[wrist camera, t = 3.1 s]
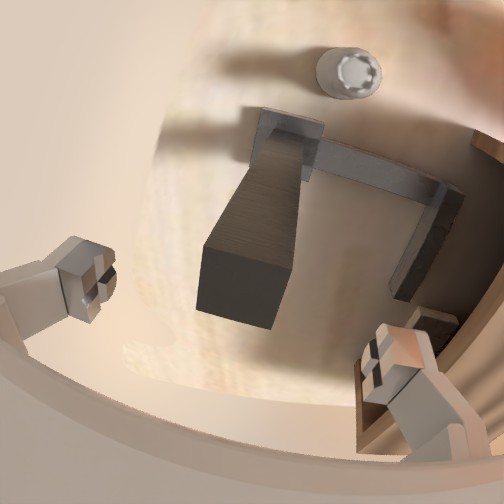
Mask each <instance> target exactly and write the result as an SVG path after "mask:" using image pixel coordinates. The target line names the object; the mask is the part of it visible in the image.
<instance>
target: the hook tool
mask: <svg viewBox="0 0 504 504" xmlns="http://www.w3.org/2000/svg"><path fill="white" fill-rule="evenodd" d="M323 129H324V122H322V121H318V120H315V119H311V118H307V117H304V116H300V115H296V114H292V113H288V112H284V111H280V110H275V109H271V108H267V107H264V108H262V109H261V114H260V118H259V123H258V128H257V132H256V137H255V142H254V146H253V151H252V156H251V161H250V165H249V167H250V168H249V170H248V171H247V173H246V175H245V176H244V178H243V180H242V181H241V183H240V185H239V186H238V188H237V189H236V191H235V193H234V195H233V196H232V198H231V200H230V201H229V203H228V205H227V206H226V208H225V210H224V211H223V213H222V215H221V217H220V218H219V220H218V222H217V223H216V225H215V227H214V229H213V230H212V232H211V234H210V235H209V237H208V239H207V241H206V242H205V244H204V246H203V253H202V261H201V269H200V277H199V286H198V295H197V304H196V310H198V311H202V312H205V313H209V314H212V315H216V316H219V317H223V318H227V319H230V320H234V321H238V322H241V323H245V324H249V325H253V326H257V327H261V328H265V329H269V330H271V328H272V326H273V323H274V320H275V317H276V314H277V312H278V309H279V306H280V303H281V300H282V297H283V295H284V292H285V289H286V286H287V283H288V280H289V277H290V274H291V271H292V266H293V257H294V248H295V238H296V228H297V218H298V207H299V196H300V184H301V180H302V181H306V182H309V178H310V175H311V171H312V168H315V169H319V170H322V171H326V172H329V173H333V174H336V175H339V176H343V177H346V178H349V179H352V180H356V181H359V182H362V183H365V184H368V185H371V186H374V187H377V188H380V189H383V190H386V191H389V192H392V193H395V194H398V195H400V196H403V197H406V198H409V199H412V200H414V201H417V202H420V203H422V204H425V205H427V206H426V208H425V210H424V213H423V215H422V217H421V219H420V222H419V224H418V226H417V228H416V230H415V232H414V234H413V237H412V239H411V241H410V243H409V245H408V247H407V249H406V251H405V253H404V255H403V257H402V259H401V261H400V263H399V265H398V267H397V269H396V271H395V272H394V274H393V276H392V278H391V280H390V282H389V285H390V289H391V292H392V296H393V298H394V299H398V300H402V301H406V302H410V301H411V299H412V297H413V296H414V294H415V292H416V291H417V289H418V287H419V286H420V284H421V282H422V281H423V279H424V277H425V275H426V274H427V272H428V270H429V268H430V266H431V265H432V263H433V261H434V259H435V257H436V255H437V254H438V252H439V250H440V248H441V246H442V244H443V242H444V240H445V238H446V236H447V234H448V232H449V230H450V228H451V226H452V224H453V222H454V220H455V218H456V216H457V213H458V211H459V209H460V207H461V205H462V202H463V200H464V198H465V195H464V194H463V193H462V192H461V191H460V190H459V189H458V188H457V187H456V186H455V185H453V184H451V183H449V182H446V181H444V180H442V179H439V178H437V177H435V176H432V175H430V174H427V173H425V172H422V171H420V170H417V169H415V168H412V167H410V166H407V165H405V164H402V163H399V162H397V161H394V160H391V159H388V158H386V157H383V156H380V155H377V154H374V153H371V152H368V151H365V150H362V149H359V148H356V147H353V146H350V145H347V144H344V143H340V142H337V141H334V140H330V139H327V138H324V137H321V136H322V132H323Z"/></svg>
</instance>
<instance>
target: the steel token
mask: <svg viewBox="0 0 504 504" xmlns="http://www.w3.org/2000/svg"><path fill="white" fill-rule="evenodd" d="M458 325H459V322H458V320H457V318H456V315H452V314H448V313H444V312H440V311H436V310H432V309H428V308H425V307H421V306H418V307H417V309H416V310H415V312H414V313H413V315H412V316H411V318H410V319H409V321H408V322H407V323H406V325H405V326H404V328H408V329H416V330H421V331H425V332H426V333H427V334H428V336H429V339H430V343H431V346H432V349H433V353H434V355H435V354H436V353H437V352H438V351H439V350H440V348H441V347H442V346H443V345H444V343H445V342H446V341H447V340H448V338H449V337H450V336H451V335H452V333H453V332H454V331H455V329H456V328H457V327H458Z"/></svg>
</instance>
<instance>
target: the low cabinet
mask: <svg viewBox="0 0 504 504" xmlns="http://www.w3.org/2000/svg"><path fill="white" fill-rule="evenodd" d="M471 145H473V146H475V147H477V148H478V149H480V150H482V151H483V152H485V153H487V154H488V155H490V156H492V157H493V158H495V159H497V160H498V161H500V162H501V163H503V164H504V143H502V142H500V141H498V140H496V139H494V138H492V137H490V136H488V135H486V134H484V133H482V132H480V131H478V130H476V129H475V132H474V135H473V138H472V141H471ZM435 360H436V363H437V367H438V371H439V372H443V373H444V375H445V376H446V377H447V378H448V379H449V380H450V382H451V383H452V384H453V385H454V386H455V387H456V389H457V390H458V391H459V392H460V393H461V395H462V396H463V397H464V398H465V399H466V401H467V402H468V403H469V404H470V405H471V407H472V408H473V409H474V410H475V411H476V413H477V414H478V415H479V416H480V418H481V419H482V420H483V421H484V423H485V427H486V431H487V436H488V440H489V443H491V442H492V441H493V440H495V439H496V438H497V437H498V436H500V435H501V434H503V433H504V264H503V266H502V267H501V269H500V271H499V272H498V274H497V276H496V277H495V279H494V281H493V282H492V284H491V285H490V287H489V288H488V290H487V291H486V293H485V294H484V296H483V297H482V299H481V300H480V302H479V303H478V305H477V306H476V308H475V309H474V311H473V312H472V313H471V315H470V316H469V318H468V319H467V320H466V322H465V323H464V324H463V326H462V327H461V328H460V330H459V331H458V332H457V334H456V335H455V336H454V337H453V339H452V340H451V341H450V342H449V344H448V345H447V346H446V347H445V349H444V350H443V351H442V352H441V354H440V355H439V356H438V357H437V358H436V359H435ZM361 361H362V360H361V359H359V360H358V361H357V362H356V364H355V365H354V372H355V393H356V427H357V429H356V431H357V432H356V438H357V446H356V447H357V449H356V452H357V453H358V454H375V455H409V454H411V453H412V450H411V448H410V446H409V444H408V443H407V441H406V439H405V437H404V435H403V434H402V432H401V430H400V428H399V426H398V425H397V423H396V421H395V419H394V417H393V416H392V414H391V412H390V410H389V409H388V407H387V406H388V405H385V404H378V403H372V402H366V401H363V387H362V383H363V381H364V380H365V379H366V377H365V375H364V374H363V373H362V371H361Z"/></svg>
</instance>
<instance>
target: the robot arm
mask: <svg viewBox="0 0 504 504" xmlns="http://www.w3.org/2000/svg"><path fill="white" fill-rule="evenodd" d="M114 262H115V251H114V250H112V249H111V248H109V247H105V246H103V245H100V244H97V243H94V242H91V241H89V240H85V239H82V238H79V237H77V236H71V237H69V238H68V239H67V240H66V241H65V242H64V243H62V244H61V245H60V246H59V247H58V248H57V249H56V250H54V251H53V252H52V253H51V254H50V255H49V256H47V257H46V258H45V259H44V260H43V261H42V262H41V261H34V262H31V263H28V264H25V265H22V266H19V267H15V268H13V269H10V270H6V271H3V272H0V504H504V454H502V455H496V456H492V455H491V450H490V445H489V440H488V436H487V431H486V427H485V423H484V421H483V420H482V419H481V418H480V416H479V415H478V414H477V413H476V411H475V410H474V409H473V408H472V407H471V405H470V404H469V403H468V402H467V401H466V399H465V398H464V397H463V396H462V395H461V393H460V392H459V391H458V390H457V389H456V387H455V386H454V385H453V384H452V383H451V382H450V380H449V379H448V378H447V377H446V376H445V375H444V373H443V372H439V371H438V367H437V363H436V360H435V356H434V353H433V349H432V346H431V343H430V339H429V336H428V334H427V333H426V332H425V331H421V330H416V329H408V328H404V327H399V326H395V325H390V324H386V323H382V324H381V325H380V326H379V327H378V329H377V331H376V339H374V340H372V341H370V342H369V343H368V345H367V346H366V348H365V350H364V353H363V356H362V361H361V371H362V373H363V374H364V375H365V377H366V379H365V380H364V381H363V383H362V387H363V401H366V402H372V403H378V404H385V405H388V406H387V407H388V409H389V410H390V412H391V414H392V416H393V417H394V419H395V421H396V423H397V425H398V426H399V428H400V430H401V432H402V434H403V435H404V437H405V439H406V441H407V443H408V444H409V446H410V448H411V450H412V453H411V454H409V455H408V456H406V457H405V458H403V459H402V460H401V461H400V462H374V461H358V460H346V459H335V458H326V457H319V456H311V455H304V454H298V453H291V452H286V451H280V450H275V449H270V448H265V447H260V446H255V445H251V444H247V443H242V442H238V441H234V440H230V439H226V438H222V437H219V436H215V435H212V434H208V433H205V432H201V431H198V430H195V429H191V428H188V427H185V426H182V425H179V424H176V423H173V422H170V421H167V420H164V419H161V418H158V417H156V416H153V415H150V414H148V413H145V412H143V411H140V410H137V409H135V408H132V407H130V406H128V405H125V404H123V403H120V402H118V401H116V400H113V399H111V398H109V397H107V396H104V395H102V394H100V393H98V392H96V391H94V390H92V389H89V388H87V387H85V386H83V385H81V384H79V383H77V382H75V381H73V380H71V379H69V378H68V377H66V376H64V375H62V374H60V373H58V372H56V371H54V370H53V369H51V368H49V367H47V366H46V365H44V364H42V363H40V362H39V361H37V360H35V359H34V358H32V357H30V356H28V351H27V349H26V347H25V345H24V343H23V340H25V339H27V338H29V337H31V336H33V335H34V334H36V333H38V332H40V331H42V330H44V329H45V328H47V327H49V326H51V325H53V324H55V323H57V322H59V321H61V320H62V319H64V318H66V317H68V315H70V316H72V317H74V318H77V319H79V320H82V321H84V322H87V323H89V324H90V323H91V322H92V321H93V320H94V318H95V317H96V315H97V314H98V313H99V312H100V310H101V306H100V303H103V302H106V301H108V300H109V299H110V297H111V296H112V295H113V292H114V290H115V287H116V281H117V276H116V275H117V274H116V271H115V270H114V268H113V266H112V264H113V263H114Z"/></svg>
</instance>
